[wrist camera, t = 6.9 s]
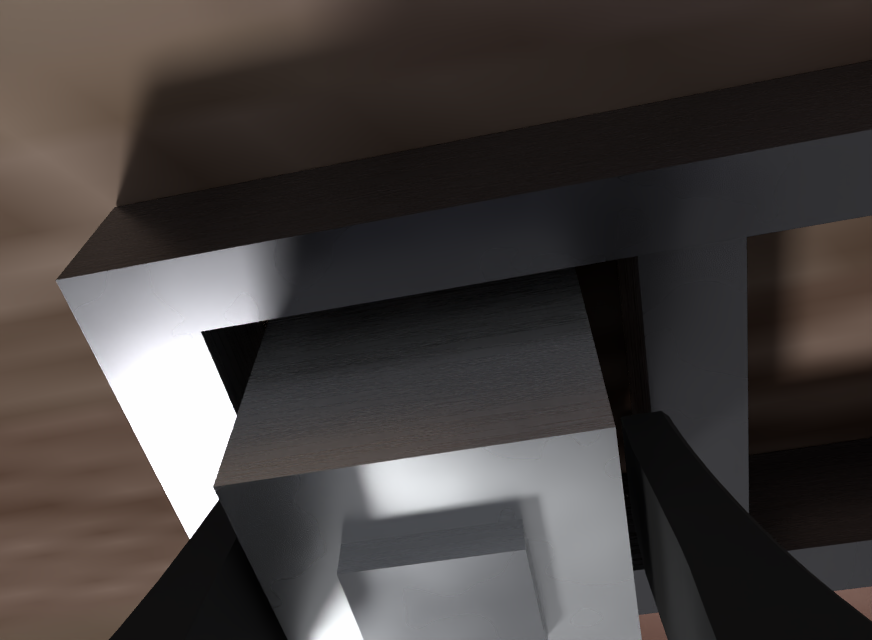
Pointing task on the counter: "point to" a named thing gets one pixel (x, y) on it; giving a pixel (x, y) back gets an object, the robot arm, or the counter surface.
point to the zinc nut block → (435, 470)
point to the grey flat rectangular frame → (505, 258)
